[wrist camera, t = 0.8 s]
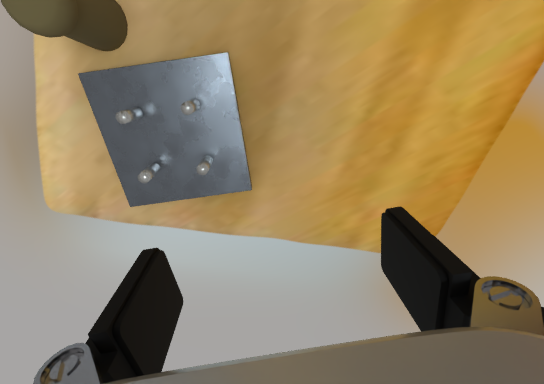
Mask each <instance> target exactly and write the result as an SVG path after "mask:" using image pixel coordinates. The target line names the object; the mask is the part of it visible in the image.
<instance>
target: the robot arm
mask: <svg viewBox="0 0 544 384" xmlns="http://www.w3.org/2000/svg"><path fill="white" fill-rule="evenodd" d="M381 266H382V270H383V272H384V274H385V275H386V277H387V278H388V280H389V281H390V283H391V285H392V286H393V288H394V289H395V291H396V292H397V294H398V296H399V297H400V299H401V300H402V302H403V303H404V305H405V307H406V308H407V310H408V311H409V313H410V314H411V316H412V318H413V319H414V321H415V322H416V324H417V325H418V327H419V329H420V330H421V332H415V333H407V334H400V335H392V336H386V337H380V338H372V339H366V340H359V341H353V342H346V343H340V344H333V345H327V346H320V347H314V348H308V349H302V350H295V351H288V352H282V353H276V354H270V355H263V356H257V357H251V358H245V359H238V360H232V361H226V362H220V363H214V364H208V365H202V366H196V367H190V368H184V369H178V370H172V371H166V372H161V371H162V368H163V365H164V361H165V358H166V355H167V352H168V349H169V346H170V343H171V340H172V337H173V334H174V331H175V327H176V324H177V321H178V318H179V315H180V312H181V309H182V306H183V297H182V294H181V292H180V289H179V287H178V285H177V282H176V280H175V277H174V275H173V272H172V270H171V267H170V265H169V262H168V260H167V258H166V255H165V253H164V251H162V250H161V251H160V250H159V249H158V248H153V249H146V250H143V251H142V252H141V253H140V255H139V256H138V258H137V260H136V261H135V263H134V264H133V266H132V267H131V269H130V270H129V272H128V273H127V275H126V276H125V278H124V279H123V281H122V283H121V284H120V286H119V287H118V289H117V290H116V292H115V293H114V295H113V297H112V298H111V300H110V301H109V303H108V304H107V306H106V307H105V309H104V310H103V312H102V313H101V315H100V317H99V318H98V320H97V321H96V323H95V324H94V326H93V327H92V329H91V331H90V332H89V333H88V336H89V339H88V340H87V342H86V343H85V344H84V343H76V344H73V345H70V346H67V347H66V348H64V349H62V350H60V351H59V352H57V353H56V354H54V355H53V356H52V357H51V358H50V359H49V360H48V361H46V362H45V363H44V365H43V366H42V367H41V368H40V369H39V371H38V373H37V375H36V377H35V378H34V383H33V384H544V307H541V304H540V302H539V299H538V297H537V296H536V295H535V294H534V293H533V292H532V291H531V290H530V289H528V288H527V287H525V286H523V285H522V284H520V283H517V282H516V281H513V280H510V279H507V278H502V277H484V278H480V277H479V276H477V275H476V274H475V273H474V272H473V271H472V270H471V269H470V268H469V267H468V266H467V265H466V264H464V263H463V262H462V261H461V260H460V259H459V258H458V257H457V256H456V255H455V254H454V253H452V252H451V251H450V250H449V249H448V248H447V247H446V246H445V245H444V244H443V243H441V242H440V241H439V240H438V239H437V238H436V237H435V236H434V235H432V234H431V233H430V232H429V231H428V230H426V229H425V228H424V227H423V226H422V225H421V224H420V223H419V222H418V221H417V220H416V219H415V218H413V217H412V216H411V215H410V214H409V213H408V212H407V211H406V210H405V209H404V208H402V207H395V208H389V209H386V211H385V213H382V219H381Z"/></svg>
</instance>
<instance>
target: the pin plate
mask: <svg viewBox="0 0 544 384" xmlns="http://www.w3.org/2000/svg"><path fill="white" fill-rule="evenodd" d="M78 75H79V77H80V80H81V83H82V85H83V88H84V90H85V93H86V95H87V98H88V100H89V103H90V105H91V108H92V111H93V113H94V116H95V118H96V121H97V123H98V126H99V128H100V131H101V134H102V136H103V139H104V141H105V144H106V146H107V149H108V151H109V154H110V156H111V159H112V162H113V164H114V167H115V169H116V172H117V174H118V177H119V179H120V182H121V184H122V187H123V190H124V192H125V195H126V197H127V200H128V202H129V205H130V207H133V206H140V205H147V204H155V203H162V202H169V201H176V200H183V199H191V198H198V197H205V196H212V195H219V194H226V193H234V192H241V191H248V190H252V185H251V179H250V173H249V168H248V162H247V156H246V150H245V145H244V139H243V133H242V127H241V122H240V116H239V110H238V104H237V99H236V93H235V87H234V82H233V76H232V70H231V64H230V59H229V53H228V52H227V53H220V54H213V55H206V56H199V57H192V58H185V59H178V60H171V61H164V62H156V63H149V64H142V65H135V66H128V67H121V68H114V69H107V70H100V71H93V72H86V73H79V74H78Z"/></svg>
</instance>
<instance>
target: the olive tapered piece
mask: <svg viewBox="0 0 544 384" xmlns="http://www.w3.org/2000/svg"><path fill="white" fill-rule="evenodd" d="M1 2H2V5H3V6H4V7H5V9H6V10H7V12H8V13H9V15H10V16H11V17H12V18H13V19H14V20H15V21H16V22H17V23H18V24H19V25H20V26H22V27H24V28H26V29H27V30H29V31H31V32H33V33H35V34H38V35H41V36H45V37H61V36H66V37H69V38H71V39H73V40H76V41H78V42H81V43H83V44H85V45H88V46H90V47H93V48H95V49H98V50H102V51H113V50H115V49H117V48H119V47H120V46H121V45H122V44H123V43H124V41H125V38H126V36H127V21H126V17H125V14H124V12H123V10H122V8H121V7H120V5H119V4H118V3H117V2H116V1H115V0H1Z"/></svg>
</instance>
